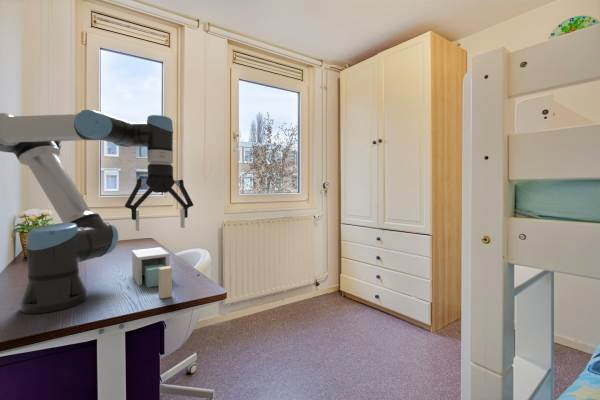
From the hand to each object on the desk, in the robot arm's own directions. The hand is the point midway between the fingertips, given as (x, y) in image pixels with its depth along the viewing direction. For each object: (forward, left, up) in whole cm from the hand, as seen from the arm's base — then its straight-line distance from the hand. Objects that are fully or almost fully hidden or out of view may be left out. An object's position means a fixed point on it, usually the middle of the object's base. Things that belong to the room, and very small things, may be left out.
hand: (160, 228), depth 97 cm
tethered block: (0, +2, -21) cm, 21 cm away
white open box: (0, +18, -21) cm, 28 cm away
